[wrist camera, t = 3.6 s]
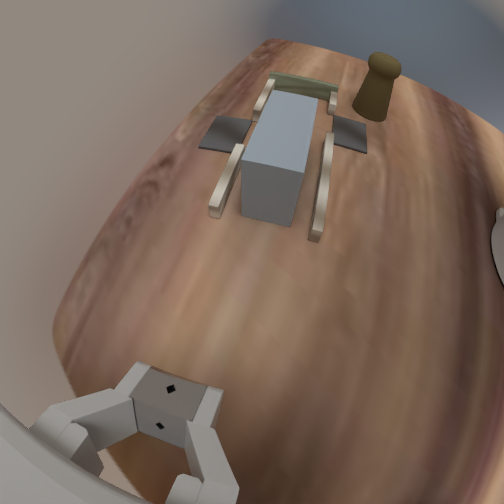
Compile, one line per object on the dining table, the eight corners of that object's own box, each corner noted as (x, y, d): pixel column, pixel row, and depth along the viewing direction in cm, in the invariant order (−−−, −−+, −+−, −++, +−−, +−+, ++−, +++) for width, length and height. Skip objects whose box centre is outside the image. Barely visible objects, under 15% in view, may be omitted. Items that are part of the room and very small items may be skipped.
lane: (364, 254, 26) (376, 239, 24) (166, 207, 28) (159, 189, 26) (363, 108, 39) (368, 93, 36) (240, 82, 41) (240, 67, 38)
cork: (384, 107, 40) (402, 57, 30) (387, 125, 37) (410, 70, 27) (351, 97, 40) (366, 44, 31) (352, 114, 38) (370, 55, 28)
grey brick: (290, 227, 28) (304, 173, 21) (241, 216, 28) (241, 159, 21) (306, 150, 33) (318, 99, 26) (268, 142, 34) (272, 89, 26)
